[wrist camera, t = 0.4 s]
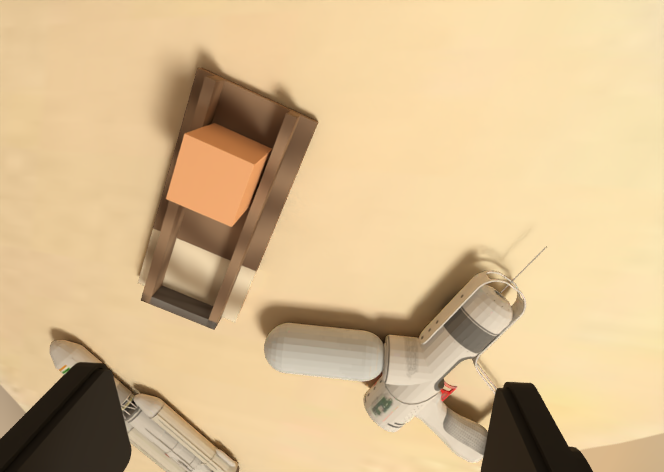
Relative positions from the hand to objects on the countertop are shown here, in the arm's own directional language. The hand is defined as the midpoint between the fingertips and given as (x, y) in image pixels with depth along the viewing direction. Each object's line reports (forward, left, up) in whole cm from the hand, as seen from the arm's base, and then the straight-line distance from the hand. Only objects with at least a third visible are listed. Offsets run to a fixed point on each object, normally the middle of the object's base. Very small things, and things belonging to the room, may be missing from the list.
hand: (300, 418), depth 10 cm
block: (+5, -10, -32) cm, 34 cm away
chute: (+11, -10, -33) cm, 36 cm away
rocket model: (+43, -11, -34) cm, 56 cm away
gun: (+13, +17, -34) cm, 40 cm away
